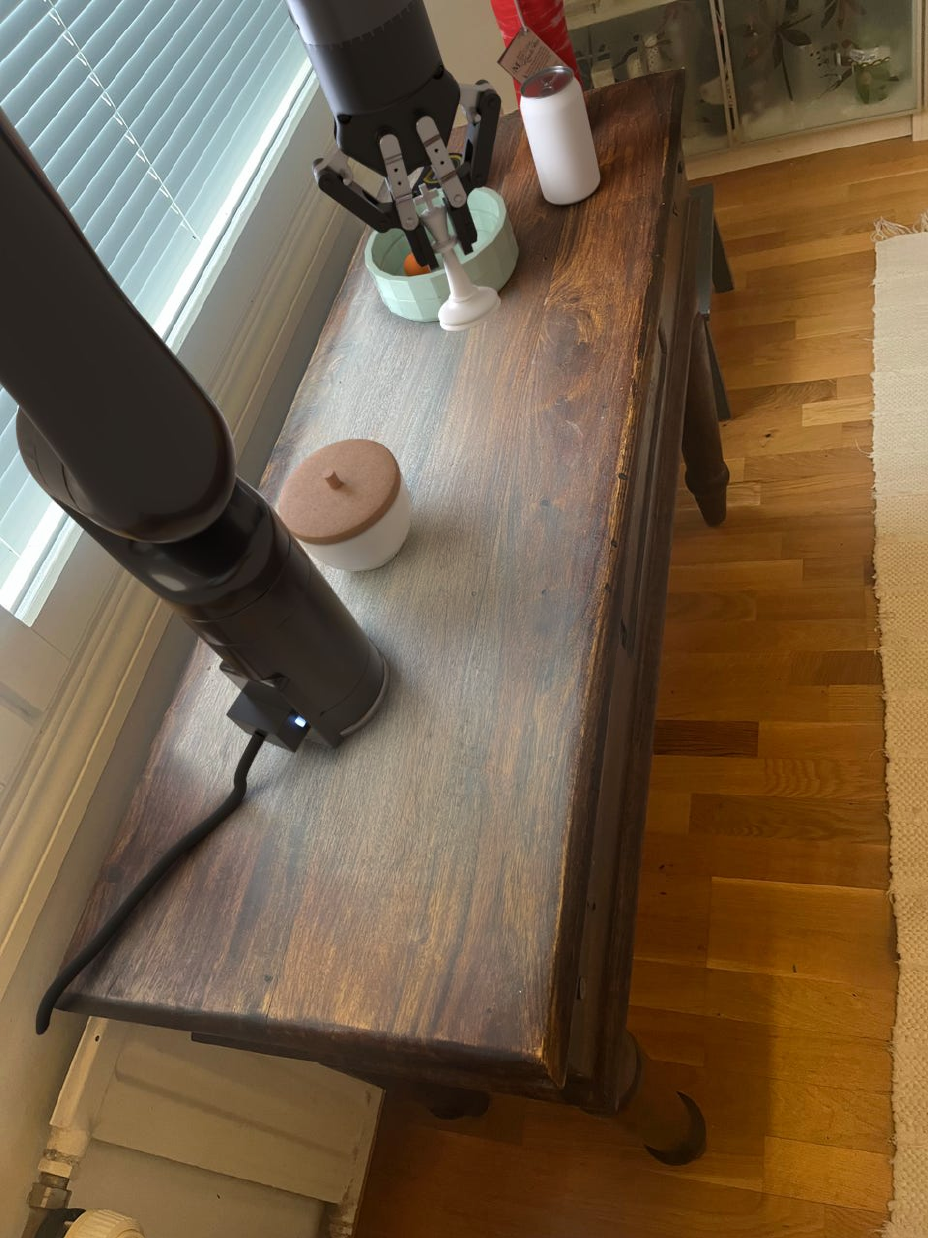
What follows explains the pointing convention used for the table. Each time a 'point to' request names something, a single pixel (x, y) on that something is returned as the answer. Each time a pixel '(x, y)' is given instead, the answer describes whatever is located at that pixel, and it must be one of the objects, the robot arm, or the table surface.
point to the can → (559, 135)
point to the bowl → (432, 290)
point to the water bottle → (533, 39)
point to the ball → (414, 267)
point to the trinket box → (348, 505)
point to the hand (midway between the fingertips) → (449, 255)
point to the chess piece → (455, 273)
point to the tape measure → (433, 176)
